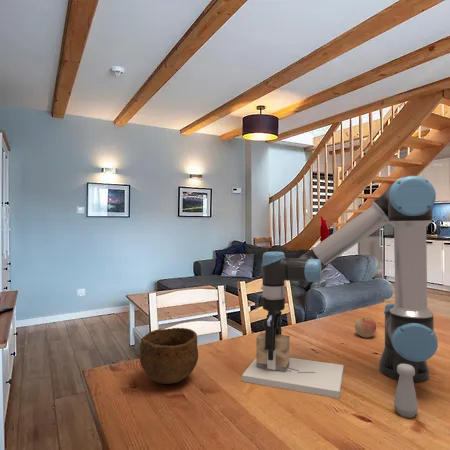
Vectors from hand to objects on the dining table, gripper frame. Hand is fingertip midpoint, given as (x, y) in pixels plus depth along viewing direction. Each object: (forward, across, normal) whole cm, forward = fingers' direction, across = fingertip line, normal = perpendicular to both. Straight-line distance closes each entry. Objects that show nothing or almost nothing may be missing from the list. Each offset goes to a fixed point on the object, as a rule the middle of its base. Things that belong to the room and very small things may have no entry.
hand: (273, 364), depth 119 cm
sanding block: (0, 0, 0) cm, 0 cm away
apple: (+3, -51, +29) cm, 59 cm away
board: (+3, 0, +7) cm, 7 cm away
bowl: (+3, +18, -30) cm, 35 cm away
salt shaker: (+3, +12, +39) cm, 41 cm away
